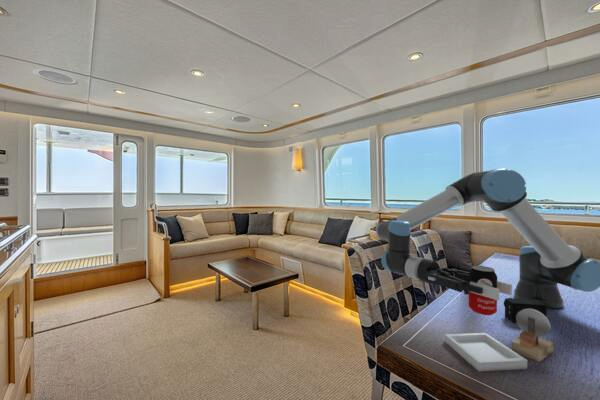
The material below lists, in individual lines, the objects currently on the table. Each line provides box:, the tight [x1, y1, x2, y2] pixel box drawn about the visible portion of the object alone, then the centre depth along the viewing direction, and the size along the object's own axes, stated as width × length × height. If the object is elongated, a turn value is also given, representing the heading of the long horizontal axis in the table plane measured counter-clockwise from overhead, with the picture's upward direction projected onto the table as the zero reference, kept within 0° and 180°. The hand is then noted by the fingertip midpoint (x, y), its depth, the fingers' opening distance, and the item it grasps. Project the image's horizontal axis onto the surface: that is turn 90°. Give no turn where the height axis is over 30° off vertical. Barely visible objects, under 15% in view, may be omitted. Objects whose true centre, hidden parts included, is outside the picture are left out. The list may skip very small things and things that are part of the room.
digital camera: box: [503, 297, 548, 324], centre depth 89 cm, size 10×5×7 cm, turn 80°
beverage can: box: [468, 265, 498, 316], centre depth 70 cm, size 6×6×12 cm
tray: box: [444, 332, 528, 372], centre depth 70 cm, size 13×13×2 cm
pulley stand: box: [510, 308, 555, 363], centre depth 71 cm, size 10×7×12 cm
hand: (504, 292), depth 65 cm, fingers closed on beverage can, 6 cm apart
